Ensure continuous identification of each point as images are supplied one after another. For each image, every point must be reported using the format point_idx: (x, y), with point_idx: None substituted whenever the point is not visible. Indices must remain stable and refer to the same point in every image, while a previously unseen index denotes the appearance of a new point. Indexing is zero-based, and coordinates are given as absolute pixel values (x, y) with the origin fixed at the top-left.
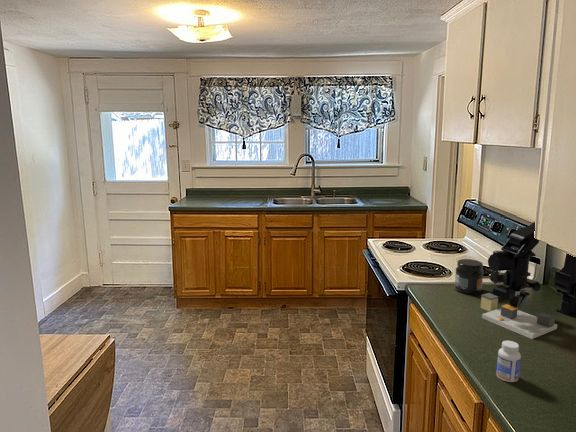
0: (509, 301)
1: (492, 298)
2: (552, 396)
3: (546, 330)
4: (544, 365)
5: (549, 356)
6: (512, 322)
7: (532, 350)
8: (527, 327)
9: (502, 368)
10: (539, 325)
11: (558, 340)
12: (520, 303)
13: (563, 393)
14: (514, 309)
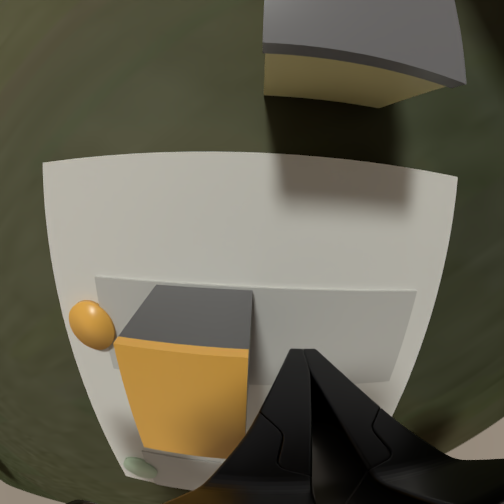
0: (252, 425)
1: (296, 46)
2: (13, 477)
3: None
4: (54, 479)
5: (97, 489)
6: None
7: (71, 462)
8: (166, 459)
9: None
10: None
11: None
12: (314, 486)
13: (33, 489)
14: (183, 450)
